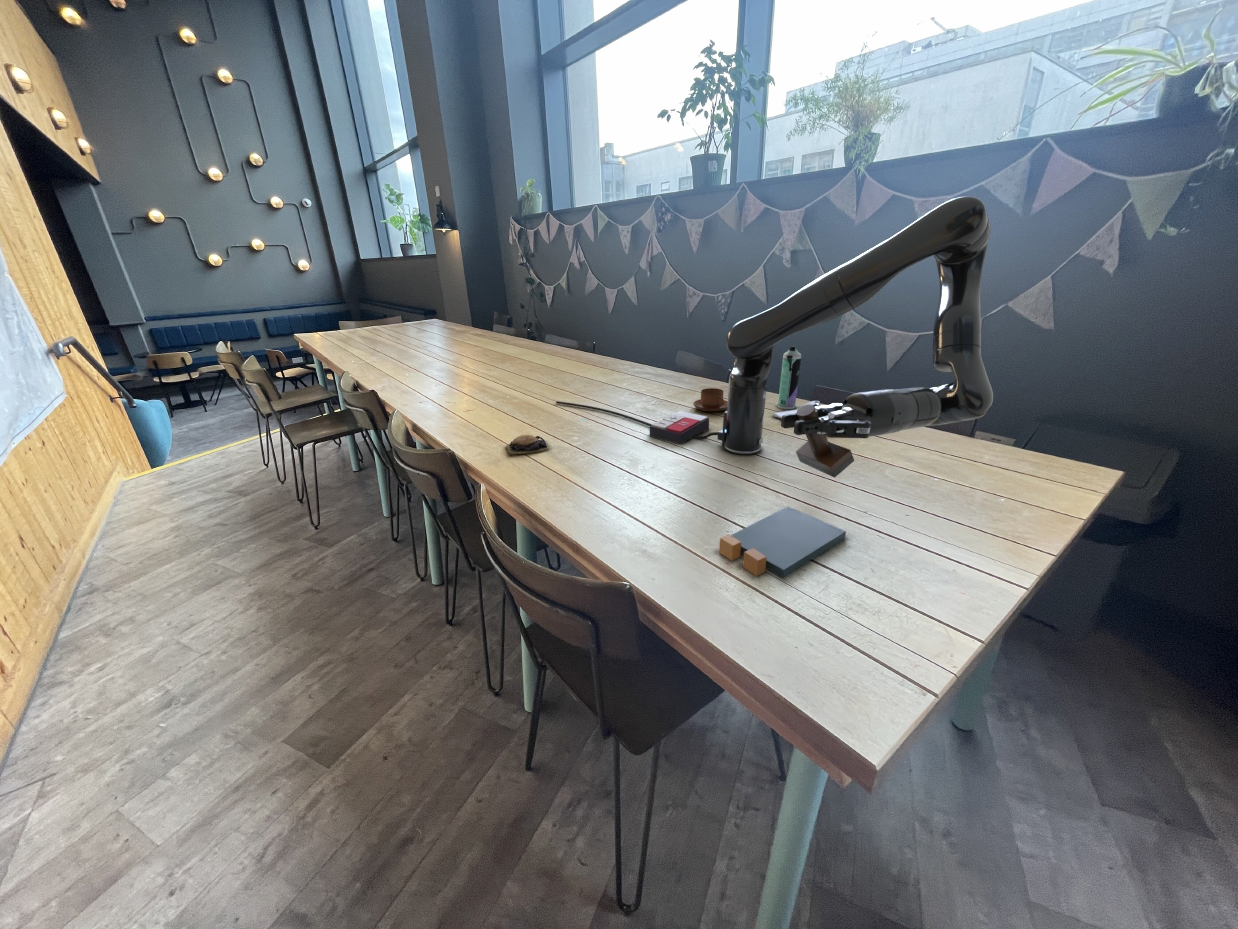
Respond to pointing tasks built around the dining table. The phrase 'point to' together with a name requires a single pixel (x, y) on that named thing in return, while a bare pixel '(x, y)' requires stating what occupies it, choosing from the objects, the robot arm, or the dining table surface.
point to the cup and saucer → (711, 400)
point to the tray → (788, 539)
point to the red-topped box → (679, 427)
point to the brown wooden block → (730, 547)
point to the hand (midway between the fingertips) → (789, 425)
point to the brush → (822, 449)
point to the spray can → (789, 379)
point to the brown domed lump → (526, 445)
